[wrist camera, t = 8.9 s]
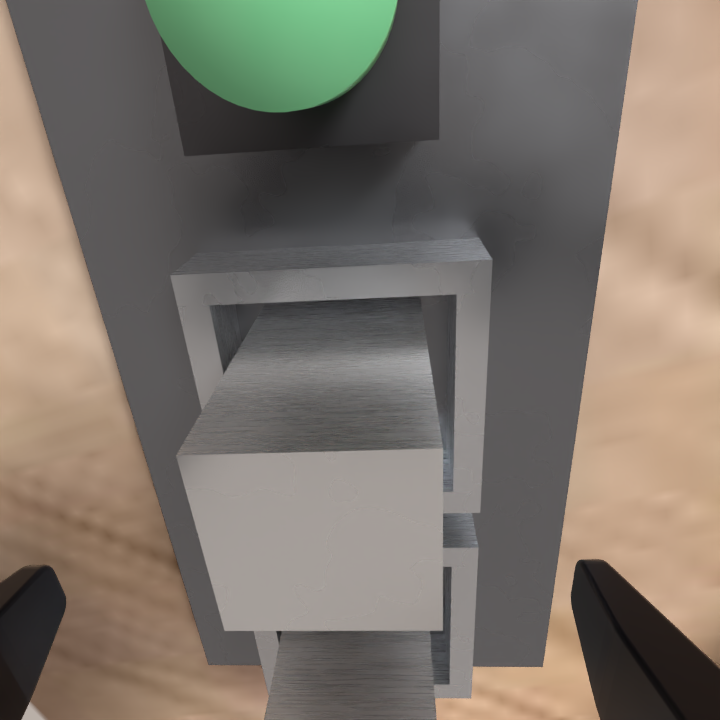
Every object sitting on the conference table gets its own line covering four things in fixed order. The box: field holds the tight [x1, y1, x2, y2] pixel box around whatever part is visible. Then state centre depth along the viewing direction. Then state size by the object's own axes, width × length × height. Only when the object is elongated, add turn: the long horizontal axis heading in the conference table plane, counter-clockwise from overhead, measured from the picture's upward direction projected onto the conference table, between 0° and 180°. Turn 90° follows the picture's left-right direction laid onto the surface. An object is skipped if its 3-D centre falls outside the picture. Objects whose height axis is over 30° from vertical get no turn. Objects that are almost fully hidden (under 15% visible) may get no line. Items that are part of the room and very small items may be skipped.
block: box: [264, 631, 436, 720], centre depth 17 cm, size 4×4×7 cm
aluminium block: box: [176, 297, 443, 631], centre depth 13 cm, size 4×4×7 cm
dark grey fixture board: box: [6, 0, 638, 698], centre depth 15 cm, size 28×14×4 cm, turn 4°
